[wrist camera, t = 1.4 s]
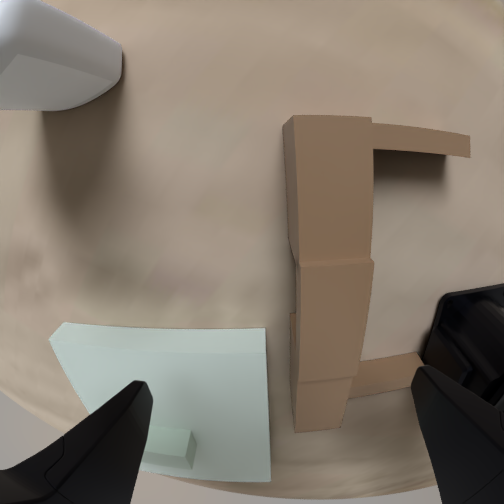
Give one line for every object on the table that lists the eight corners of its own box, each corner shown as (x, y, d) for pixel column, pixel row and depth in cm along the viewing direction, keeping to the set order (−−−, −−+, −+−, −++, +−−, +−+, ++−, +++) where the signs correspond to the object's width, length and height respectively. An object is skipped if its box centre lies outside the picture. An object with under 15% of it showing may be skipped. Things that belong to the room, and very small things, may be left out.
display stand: (265, 328, 15) (266, 386, 11) (270, 464, 20) (271, 502, 16) (63, 322, 15) (29, 360, 11) (135, 452, 21) (125, 485, 17)
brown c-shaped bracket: (446, 135, 11) (505, 138, 7) (412, 363, 16) (438, 410, 12) (282, 125, 11) (294, 113, 7) (289, 380, 16) (295, 438, 12)
